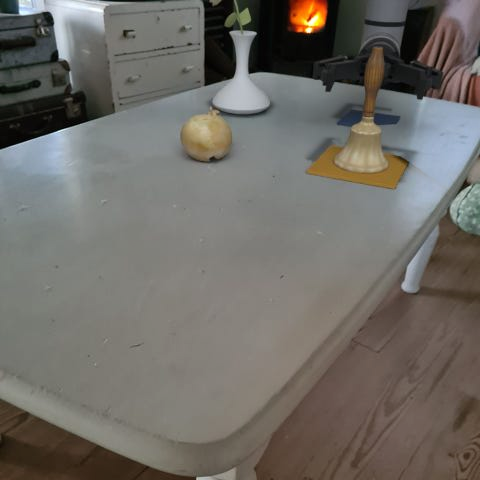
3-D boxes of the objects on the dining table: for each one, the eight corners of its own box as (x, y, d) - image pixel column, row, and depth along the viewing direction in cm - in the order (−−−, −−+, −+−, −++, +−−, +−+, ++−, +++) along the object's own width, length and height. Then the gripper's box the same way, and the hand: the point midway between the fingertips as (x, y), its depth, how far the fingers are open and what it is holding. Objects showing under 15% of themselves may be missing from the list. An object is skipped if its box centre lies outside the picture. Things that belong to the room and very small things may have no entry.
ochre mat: (394, 189, 72) (395, 186, 72) (306, 173, 76) (306, 170, 76) (409, 160, 82) (410, 157, 82) (330, 148, 86) (331, 145, 86)
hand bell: (354, 176, 74) (374, 54, 65) (322, 158, 80) (337, 43, 71) (399, 169, 77) (425, 50, 68) (366, 151, 83) (385, 40, 74)
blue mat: (390, 132, 94) (390, 129, 94) (336, 124, 97) (337, 121, 97) (400, 118, 101) (400, 116, 101) (350, 111, 104) (350, 109, 104)
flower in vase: (238, 100, 109) (241, -44, 94) (281, 111, 103) (291, -41, 88) (194, 112, 101) (190, -44, 86) (238, 124, 95) (242, -41, 80)
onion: (228, 167, 77) (229, 118, 73) (176, 164, 78) (174, 115, 74) (234, 150, 84) (235, 104, 80) (186, 147, 84) (184, 101, 80)
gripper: (444, 88, 94) (455, 119, 77) (307, 77, 98) (289, 105, 81) (456, 41, 89) (470, 64, 72) (312, 32, 93) (293, 52, 77)
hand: (374, 86), depth 77 cm, fingers open, 13 cm apart
